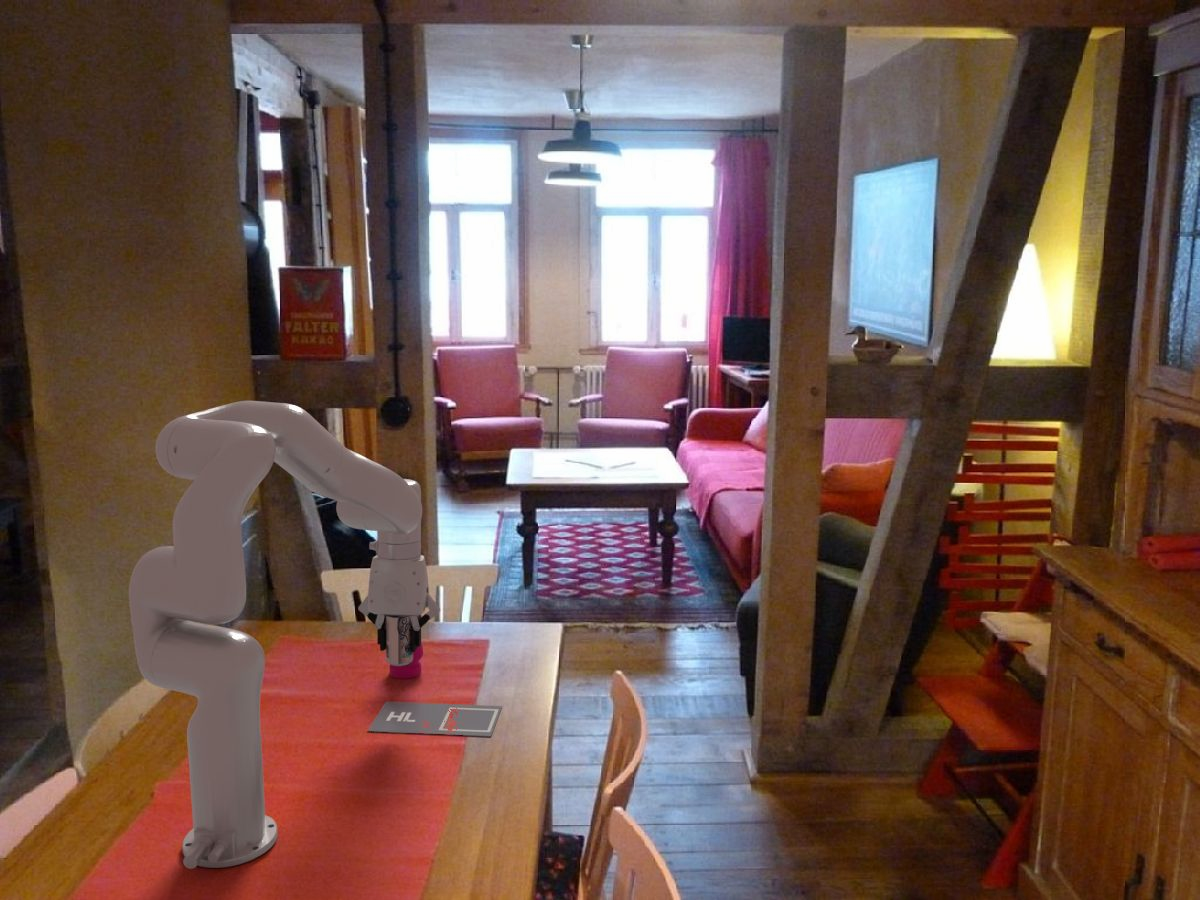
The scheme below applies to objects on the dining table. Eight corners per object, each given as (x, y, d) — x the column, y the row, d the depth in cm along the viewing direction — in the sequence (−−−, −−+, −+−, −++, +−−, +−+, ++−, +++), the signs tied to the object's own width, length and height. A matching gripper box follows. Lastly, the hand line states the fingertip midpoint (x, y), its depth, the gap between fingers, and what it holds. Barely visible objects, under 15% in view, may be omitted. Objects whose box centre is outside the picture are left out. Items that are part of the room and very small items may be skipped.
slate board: (490, 737, 171) (490, 735, 171) (367, 731, 173) (367, 730, 172) (502, 707, 183) (502, 706, 183) (386, 702, 184) (386, 701, 184)
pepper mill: (431, 670, 199) (429, 576, 196) (406, 683, 193) (403, 585, 190) (404, 663, 203) (402, 570, 199) (379, 674, 197) (376, 579, 193)
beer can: (406, 668, 172) (406, 602, 171) (381, 665, 173) (381, 600, 172) (417, 659, 177) (417, 595, 175) (392, 656, 178) (392, 592, 176)
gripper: (344, 552, 169) (346, 654, 172) (442, 557, 168) (441, 658, 171) (358, 542, 176) (359, 639, 179) (451, 546, 175) (450, 644, 178)
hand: (399, 648), depth 175 cm, fingers closed on beer can, 4 cm apart
